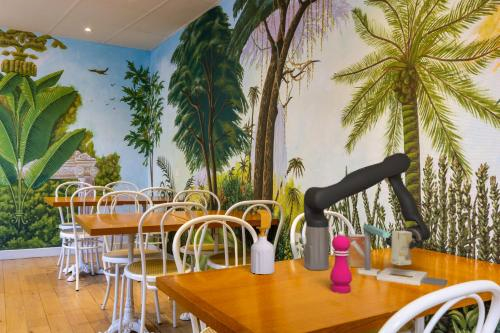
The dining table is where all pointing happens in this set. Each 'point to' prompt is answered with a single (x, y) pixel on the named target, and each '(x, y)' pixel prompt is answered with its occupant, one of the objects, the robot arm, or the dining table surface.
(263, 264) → the soap bottle
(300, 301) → the dining table surface
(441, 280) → the coaster
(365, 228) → the swing bar
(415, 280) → the holder
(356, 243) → the small box
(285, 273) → the dining table surface
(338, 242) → the pepper mill
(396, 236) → the skincare box
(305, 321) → the dining table surface
